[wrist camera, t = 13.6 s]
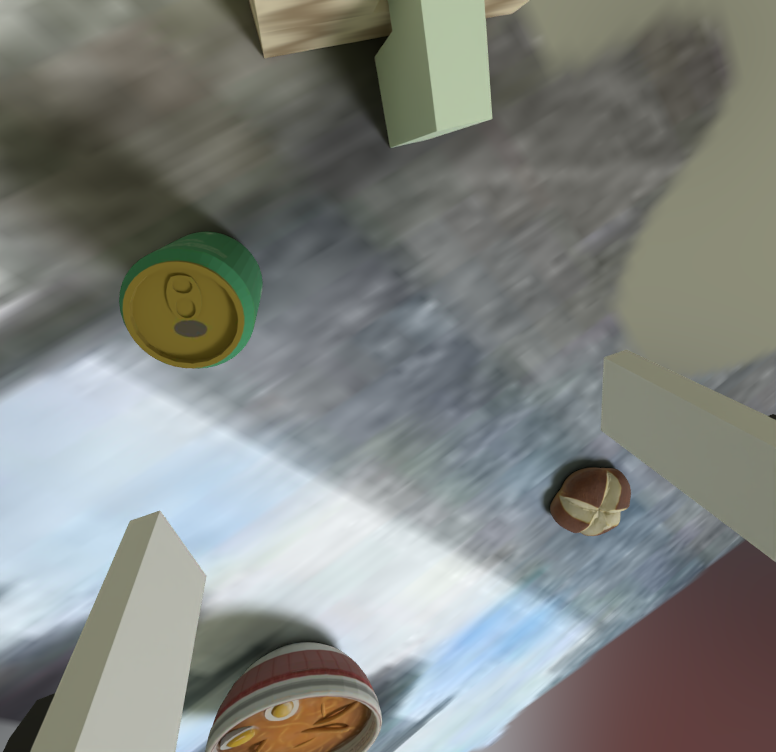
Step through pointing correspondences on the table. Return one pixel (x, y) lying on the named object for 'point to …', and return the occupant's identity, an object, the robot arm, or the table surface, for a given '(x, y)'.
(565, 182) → the table surface
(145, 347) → the beverage can
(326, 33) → the wooden block structure
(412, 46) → the pale green rectangular block
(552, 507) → the bread
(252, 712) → the bowl
